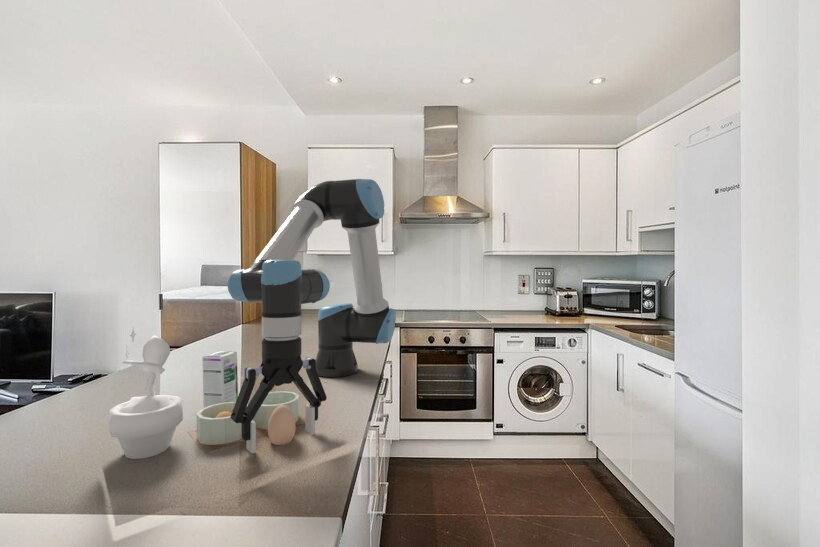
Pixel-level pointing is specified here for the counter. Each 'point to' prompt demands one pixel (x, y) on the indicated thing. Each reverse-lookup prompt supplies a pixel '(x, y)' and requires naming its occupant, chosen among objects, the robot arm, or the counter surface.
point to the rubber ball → (223, 414)
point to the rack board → (258, 433)
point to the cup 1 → (217, 425)
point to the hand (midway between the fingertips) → (282, 445)
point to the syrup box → (220, 378)
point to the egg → (281, 426)
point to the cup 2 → (272, 403)
